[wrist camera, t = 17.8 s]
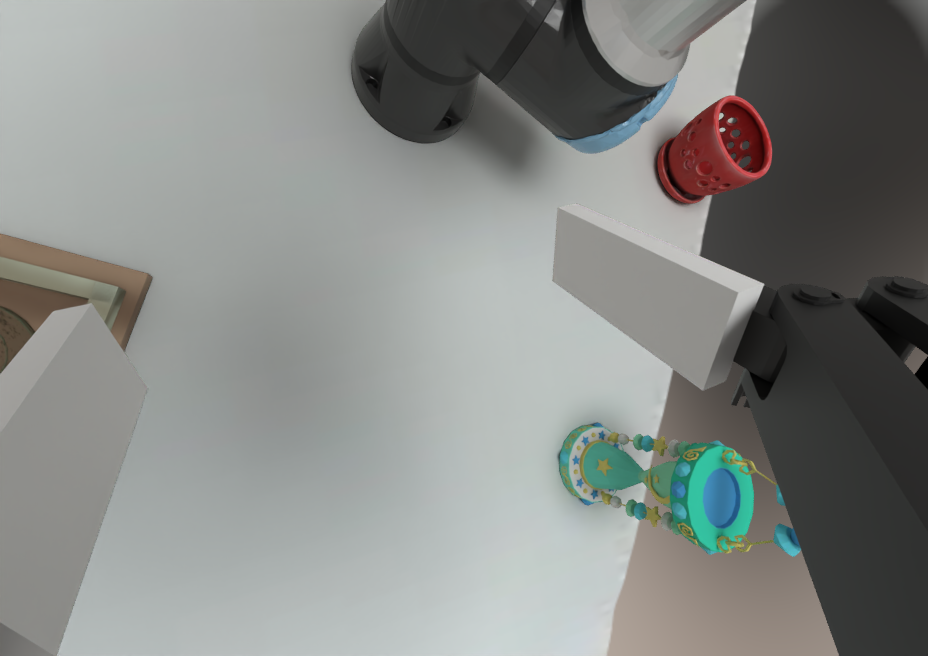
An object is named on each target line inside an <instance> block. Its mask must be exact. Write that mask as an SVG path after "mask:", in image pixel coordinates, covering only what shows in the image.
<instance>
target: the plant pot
mask: <svg viewBox="0 0 928 656" xmlns="http://www.w3.org/2000/svg"><path fill="white" fill-rule="evenodd" d="M719 113H723V114H724V116H723V118H722V119H720V120H719ZM730 118H736V119H737V121H736V122H735V123H729V122H728V119H730ZM720 128H725V129H726V130H725V131H724V132H720V131H719V129H720ZM736 129H737V130H739V131H740V135H739V136H738V137H733V136H732V134H731V133H732V131H733V130H736ZM744 141H748V142H749V148H748V149H746V150H744V149H743V148H742V143H743V142H744ZM730 142H733V143H734V147H733V148H729V147H728V143H730ZM733 153H735V154H736V158H735V159H732V158H731V157H730V156H731V154H733ZM746 156H750V157H751V161H750V163H749V164H748V165H747V166H746V167H744V168H740V167H739V166H738V164H739V162H740V161H741V159H743V158H744V157H746ZM771 159H772V147H771V141H770V137H769V134H768V131H767V128H766V126H765V124H764V122H763V120H762V119H761V117H760V116H759V114H758V113H757V111H756V110H755V109H754V108H753V107H752V106H751V105H750V104H749V103H748V102H747V101H745V100H744V99H742V98H740V97H737V96H727V97H724V98H722V99H720V100H718V101H717V102H715V103H714V104H712V105H711V106H709V107H708V108H706V109H705V110H704V111H702V112H701V113H700V114H699V115H697V116H696V117H695V118H694V119H693V120H692V121H690V122H689V123H688V124H687V125H686V126H685V127H684V128H683V129H682V130H681V132H680V133H679V134H678V135H677V137H674V138H671V139H669V140H668V141H667V142H665V143H664V145H663V146H662V148H661V150H660V152H659V156H658V172H659V177H660V179H661V182H662V184H663V185H664V187H665V189H666V190H667V192H668V193H669V194H670V195H671V196H672V197H674V198H675V199H677V200H678V201H681V202H684V203H690V204H692V203H697V202H699V201H701V200H702V199H703V198H704V197H705V196H706V195H714V194H718V193H722V192H725V191H729V190H732V189H735V188H738V187H741V186H743V185H746V184H748V183H750V182H752V181H754V180H756V179H758V178H760V177H762V176H763V175H764V174H765V173H766V172H767V171H768V169H769V167H770V164H771ZM750 170H752V172H751V173H750V172H749V171H750Z"/></svg>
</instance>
